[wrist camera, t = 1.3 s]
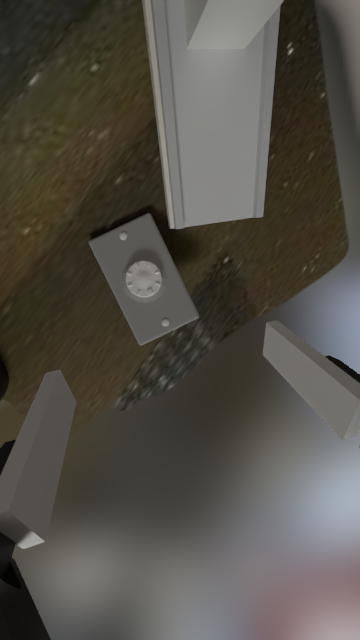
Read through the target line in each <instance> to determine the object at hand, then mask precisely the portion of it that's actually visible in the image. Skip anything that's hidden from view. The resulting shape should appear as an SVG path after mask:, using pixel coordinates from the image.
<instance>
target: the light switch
mask: <svg viewBox="0 0 360 640" xmlns="http://www.w3.org/2000/svg"><path fill="white" fill-rule="evenodd" d="M89 245H90V247H91V249H92V251H93V253H94V255H95V257H96V259H97V261H98V263H99V265H100V267H101V269H102V271H103V273H104V275H105V277H106V279H107V281H108V283H109V285H110V287H111V289H112V291H113V293H114V295H115V297H116V299H117V301H118V303H119V305H120V307H121V309H122V311H123V313H124V315H125V317H126V319H127V321H128V323H129V326H130V328H131V330H132V332H133V334H134V336H135V338H136V340H137V342H138V344H139V345H144V344H146V343H148V342H150V341H152V340H154V339H156V338H158V337H160V336H162V335H164V334H166V333H168V332H170V331H172V330H175V329H177V328H179V327H181V326H183V325H185V324H187V323H189V322H191V321H193V320H195V319H197V318H199V314H198V312H197V310H196V308H195V306H194V304H193V301H192V299H191V297H190V295H189V293H188V291H187V289H186V287H185V285H184V283H183V281H182V278H181V276H180V274H179V272H178V270H177V268H176V266H175V264H174V262H173V260H172V257H171V255H170V253H169V251H168V249H167V247H166V245H165V243H164V241H163V239H162V237H161V234H160V232H159V230H158V228H157V226H156V224H155V222H154V220H153V218H152V216H151V214H150V213H147V214H145V215H143V216H141V217H139V218H136V219H134V220H132V221H130V222H128V223H126V224H124V225H122V226H120V227H118V228H115V229H113V230H111V231H109V232H107V233H105V234H103V235H101V236H99V237H96V238H94V239H92V240H90V241H89ZM160 271H161V272H160ZM138 296H139V297H138Z"/></svg>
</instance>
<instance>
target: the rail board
mask: <svg viewBox="0 0 360 640" xmlns="http://www.w3.org/2000/svg"><path fill="white" fill-rule="evenodd" d="M283 1H284V0H142V4H143V13H144V21H145V30H146V38H147V47H148V55H149V64H150V72H151V81H152V89H153V98H154V106H155V114H156V123H157V131H158V140H159V148H160V157H161V165H162V174H163V182H164V191H165V199H166V208H167V216H168V224H169V228H170V229H174V228H175V229H181V228H184V227H189V226H196V225H203V224H210V223H217V222H224V221H231V220H238V219H245V218H252V217H253V218H258V217H263V210H264V198H265V186H266V174H267V162H268V150H269V138H270V126H271V114H272V102H273V90H274V78H275V66H276V54H277V42H278V30H279V18H280V6H281V3H282V2H283Z"/></svg>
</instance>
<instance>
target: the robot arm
mask: <svg viewBox="0 0 360 640" xmlns="http://www.w3.org/2000/svg"><path fill="white" fill-rule="evenodd" d="M263 356H264V357H265V358H266V359H267V360H268V361H269V362H270V363H271V364H272V365H273V366H274V367H275V369H276V370H277V371H278V372H279V373H280V374H281V375H282V376H283V377H284V378H285V379H286V380H287V381H288V383H289V384H290V385H291V386H292V387H293V388H294V389H295V390H296V391H297V392H298V393H299V394H300V395H301V397H302V398H303V399H304V400H305V401H306V402H307V403H308V404H309V405H310V406H311V407H312V408H313V409H314V411H315V412H316V413H317V414H318V415H319V416H320V417H321V418H322V419H323V420H324V421H325V422H326V423H327V425H328V426H329V427H330V428H331V429H332V430H333V431H334V432H335V433H336V434H337V435H338V436H339V437H340V439H341V440H345V439H348V438H350V437H353V436H356V434H357V433H358V430H359V429H360V374H357V372H355V371H354V370H353V369H351V368H349V366H347V365H346V364H344V363H343V362H342V361H340V360H338V359H336V358H333V357H331V356H325V357H324V356H323V355H322V354H320V353H319V352H318V351H316V350H315V349H314V348H313V347H311V346H310V345H308V344H307V343H306V342H305V341H303V340H302V339H301V338H299V337H298V336H297V335H295V334H294V333H293V332H291V331H290V330H289V329H287V328H286V327H285V326H283V325H282V324H281V323H280V322H278V321H277V320H276V321H272V322H267V323H266V331H265V340H264V348H263ZM7 387H8V376H7V373H6V370H5V368H4V367H3V365H2V364H1V362H0V401H1V399H2V397H3V396H4V394H5V392H6V390H7ZM75 405H76V400H75V398H74V396H73V394H72V392H71V391H70V389H69V387H68V385H67V383H66V381H65V379H64V377H63V375H62V373H61V371H60V370H56V371H52V372H47V373H45V376H44V378H43V380H42V382H41V385H40V387H39V389H38V391H37V394H36V396H35V398H34V401H33V403H32V405H31V407H30V410H29V412H28V414H27V416H26V419H25V421H24V423H23V425H22V428H21V430H20V432H19V435H18V437H17V439H16V440H13V441H9V442H5V444H4V445H3V446H2V447H1V448H0V640H51V639H50V637H49V635H48V632H47V630H46V628H45V626H44V624H43V621H42V619H41V617H40V615H39V613H38V610H37V608H36V606H35V604H34V602H33V599H32V597H31V595H30V593H29V590H28V588H27V586H26V584H25V582H24V579H23V577H22V575H21V573H20V571H19V568H18V566H17V564H16V562H15V560H14V559H13V558H12V553H13V550H14V547H15V544H16V545H18V546H19V547H21V548H22V549H25V548H28V547H31V546H34V545H37V544H39V543H42V542H45V539H46V535H47V530H48V526H49V521H50V517H51V513H52V508H53V504H54V499H55V495H56V490H57V486H58V481H59V476H60V472H61V467H62V463H63V459H64V454H65V450H66V446H67V441H68V437H69V432H70V428H71V423H72V419H73V414H74V410H75Z"/></svg>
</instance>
